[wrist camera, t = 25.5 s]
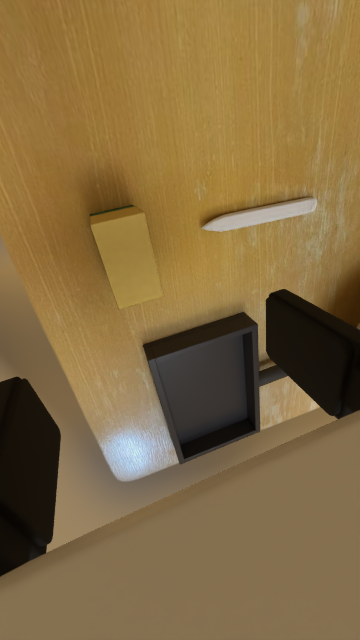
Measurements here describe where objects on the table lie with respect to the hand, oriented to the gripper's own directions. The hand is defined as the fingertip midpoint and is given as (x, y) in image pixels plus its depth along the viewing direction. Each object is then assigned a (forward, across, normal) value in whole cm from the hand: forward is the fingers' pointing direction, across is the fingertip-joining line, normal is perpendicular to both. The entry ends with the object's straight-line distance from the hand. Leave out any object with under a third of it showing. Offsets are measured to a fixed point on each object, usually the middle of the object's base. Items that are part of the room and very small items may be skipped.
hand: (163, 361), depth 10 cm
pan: (+18, -7, +22) cm, 30 cm away
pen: (+18, -16, 0) cm, 24 cm away
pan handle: (+17, -17, +22) cm, 33 cm away
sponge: (+19, -1, 0) cm, 19 cm away
